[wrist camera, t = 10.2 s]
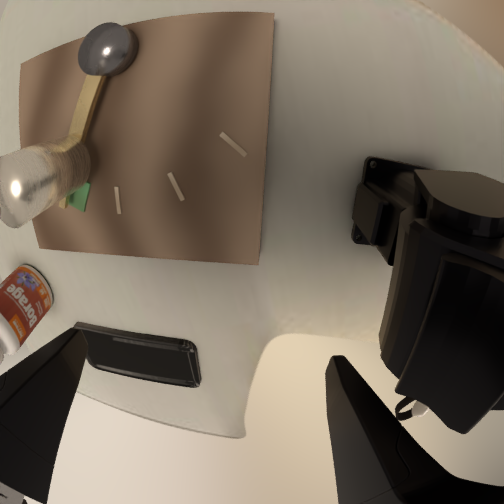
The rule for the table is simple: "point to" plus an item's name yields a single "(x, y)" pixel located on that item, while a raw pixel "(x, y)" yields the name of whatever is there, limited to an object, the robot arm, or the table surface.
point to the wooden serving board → (163, 140)
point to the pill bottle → (21, 307)
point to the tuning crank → (67, 147)
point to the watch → (417, 410)
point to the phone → (142, 355)
